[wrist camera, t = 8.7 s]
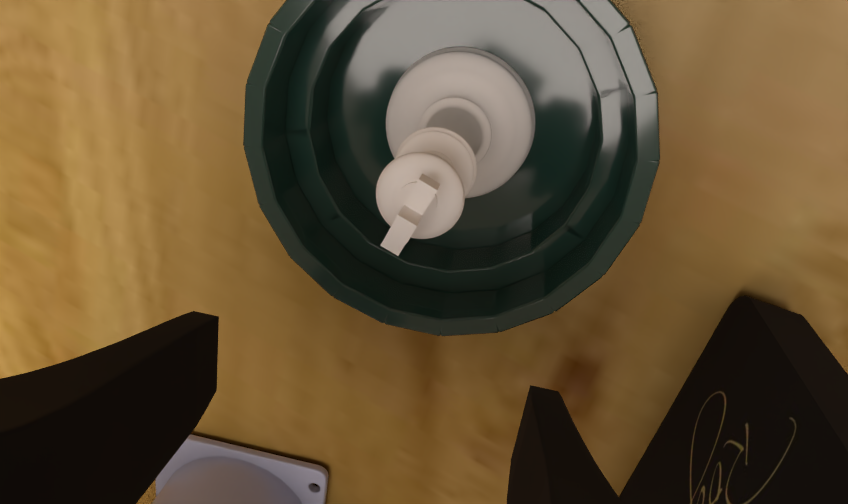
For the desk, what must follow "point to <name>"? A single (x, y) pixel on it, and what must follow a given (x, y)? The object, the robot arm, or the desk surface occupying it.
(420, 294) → the bowl
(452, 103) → the chess piece
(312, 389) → the desk surface
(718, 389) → the nameplate
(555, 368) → the desk surface
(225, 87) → the desk surface
